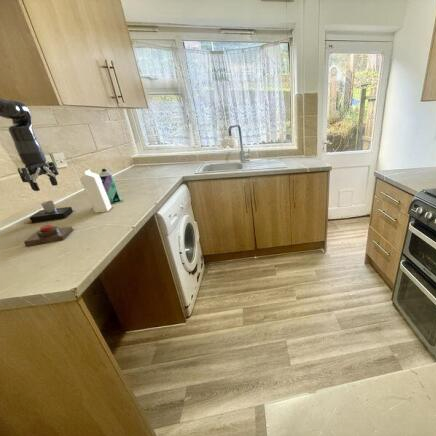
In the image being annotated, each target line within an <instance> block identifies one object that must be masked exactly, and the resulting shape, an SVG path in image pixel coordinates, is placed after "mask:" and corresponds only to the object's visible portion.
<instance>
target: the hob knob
mask: <svg viewBox="0 0 436 436" xmlns="http://www.w3.org/2000/svg"><path fill="white" fill-rule="evenodd" d="M40 205H41V206H42V210H44V211H45V213H53V212H56V211H57V209H56V205H55V203H54V200H47V201H43V202H41V203H40Z"/></svg>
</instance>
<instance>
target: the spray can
mask: <svg viewBox="0 0 436 436" xmlns="http://www.w3.org/2000/svg"><path fill="white" fill-rule="evenodd" d="M98 175H99V177H100V179H101V182H102V184H103V187H104V189H105V192H106V194H107V197H108V199H109V202H110V204H116V203H120V202H122V198H121V195H120V193H119V190H118V188H117V187H118V186H117V184H116V182H115V179H114V177H113V173H112V172H111V171H108V170H107V169H106V168H101V172H100V173H98Z"/></svg>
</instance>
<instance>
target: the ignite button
mask: <svg viewBox="0 0 436 436" xmlns="http://www.w3.org/2000/svg"><path fill="white" fill-rule="evenodd" d="M52 226H53V225H52V224H46V225H42V226H40V227H39V230H41V232H47V231H50V230H53V227H52Z"/></svg>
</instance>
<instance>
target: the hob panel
mask: <svg viewBox="0 0 436 436" xmlns="http://www.w3.org/2000/svg"><path fill="white" fill-rule="evenodd" d="M56 209H57V211H56V212H53V213H45V211H44V209H41V210H39V211H37V212H35V213H34V214H33V215H31V216H29V220H30V221H31V223H32V224H36V223H42V222H43V223H44V222H51V221H58V220H64V219H66V218H68V217H69V216H70V215H71V214H72V213H73V212H74V210H73V208H72V206H64V207H57V208H56Z"/></svg>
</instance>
